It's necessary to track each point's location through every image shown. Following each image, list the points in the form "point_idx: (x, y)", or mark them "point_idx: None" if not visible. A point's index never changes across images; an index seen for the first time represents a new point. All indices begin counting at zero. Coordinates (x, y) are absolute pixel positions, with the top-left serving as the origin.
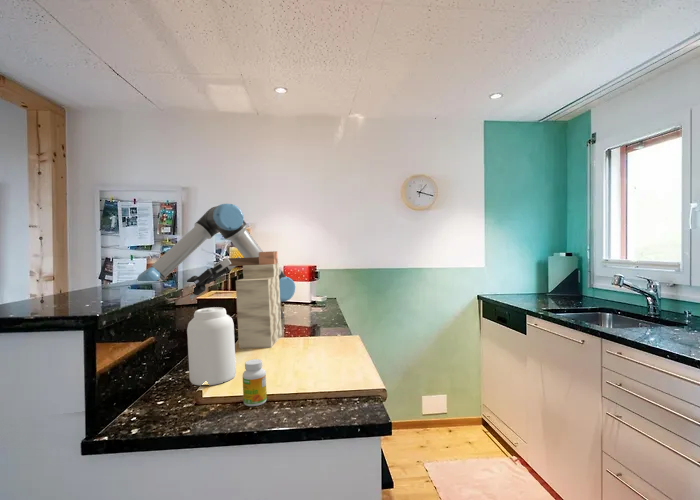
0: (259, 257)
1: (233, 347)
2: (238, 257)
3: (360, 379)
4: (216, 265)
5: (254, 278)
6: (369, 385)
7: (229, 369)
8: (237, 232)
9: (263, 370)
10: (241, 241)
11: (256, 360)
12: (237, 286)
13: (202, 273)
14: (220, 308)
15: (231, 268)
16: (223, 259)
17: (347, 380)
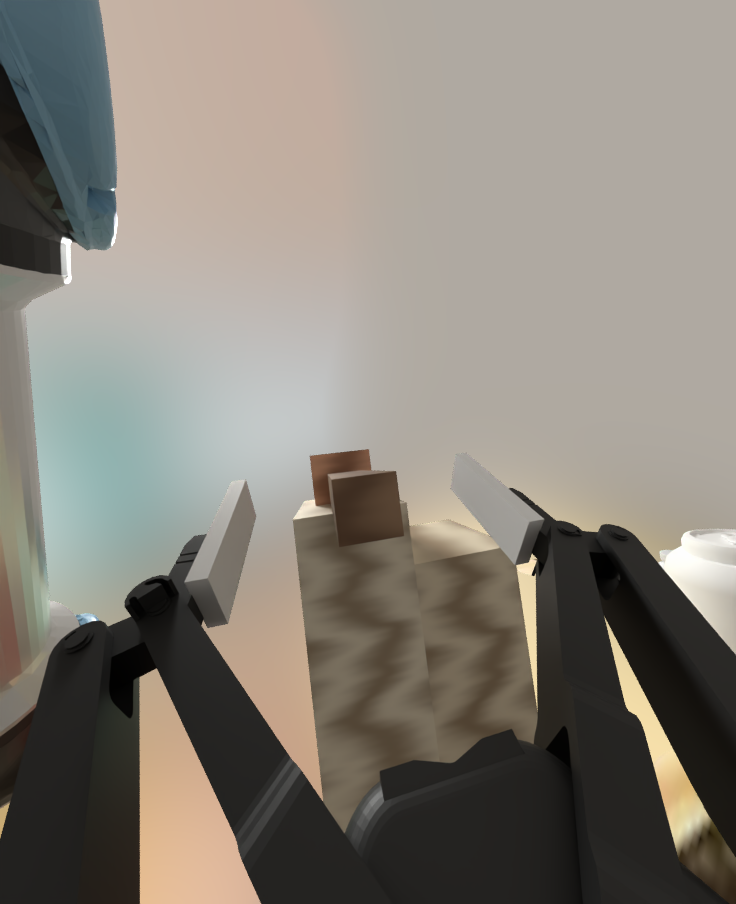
0: (370, 469)
1: None
2: (246, 487)
3: (524, 569)
4: (520, 503)
5: (417, 543)
6: (531, 563)
7: None
8: (64, 275)
9: (661, 561)
10: (11, 368)
11: (668, 553)
12: (512, 567)
13: (693, 606)
14: (695, 540)
15: (234, 595)
16: (395, 478)
17: (535, 573)
